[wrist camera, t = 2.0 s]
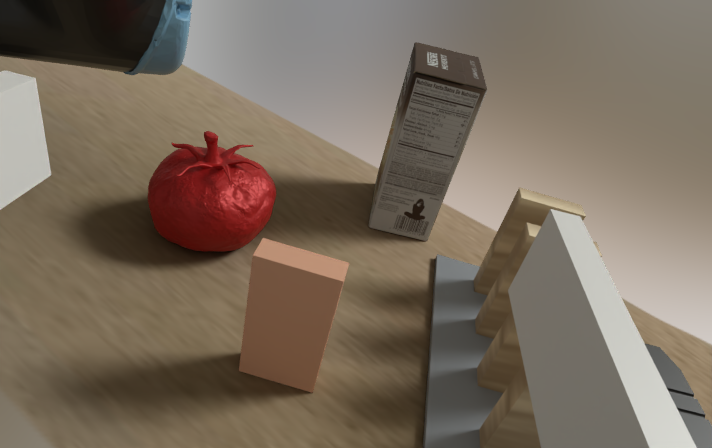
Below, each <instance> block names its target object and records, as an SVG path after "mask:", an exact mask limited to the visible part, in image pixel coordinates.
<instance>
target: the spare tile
mask: <svg viewBox="0 0 712 448" xmlns="http://www.w3.org/2000/svg"><path fill="white" fill-rule="evenodd" d="M348 266H349V263H348V262H344V261H341V260H337V259H334V258H330V257H327V256H324V255H320V254H317V253H313V252H310V251H306V250H303V249H299V248H296V247H293V246H289V245H286V244H282V243H279V242H275V241H272V240H269V239H265V238H263V239H262V241H261V242H260V244H259V246H258V247H257V249H256V251H255V253H254V254H253V259H252V267H251V275H250V283H249V292H248V300H247V308H246V316H245V324H244V332H243V341H242V349H241V357H240V365H239V371H240V372H244V373H247V374H251V375H254V376H257V377H261V378H264V379H267V380H271V381H274V382H277V383H281V384H284V385H287V386H291V387H294V388H298V389H301V390H304V391H308V392H311V393H313V390H314V387H315V383H316V380H317V377H318V373H319V370H320V366H321V362H322V359H323V355H324V352H325V348H326V345H327V341H328V337H329V334H330V330H331V327H332V323H333V320H334V316H335V312H336V309H337V305H338V302H339V298H340V295H341V291H342V287H343V284H344V280H345V277H346V273H347V270H348Z"/></svg>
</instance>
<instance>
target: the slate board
mask: <svg viewBox="0 0 712 448" xmlns="http://www.w3.org/2000/svg"><path fill="white" fill-rule="evenodd" d="M479 268H480V267H479V266H476V265H472V264H469V263H465V262H462V261H458V260H455V259H451V258H448V257H445V256H441V255H438V254H437V256H436V260H435V275H434V290H433V305H432V320H431V334H430V349H429V364H428V379H427V394H426V409H425V424H424V439H423V448H480V432H479V429H480V427H481V426H482V424H483V423H484V421H485V420H486V418H487V417H488V415H489V414H490V412H491V411H492V409H493V408H494V406H495V405H496V404H497V402H498V401H499V399H500V398H501V396H502V395H503V393H501V392H497V391H494V390H491V389H487V388H484V387H480V386H478V379H477V367H478V365H479V364H480V362H481V360H482V358H483V357H484V355H485V353H486V352H487V350H488V348H489V346H490V345H491V343H492V341H493V340H494V339H493V338H489V337H486V336H482V335H479V334H476V326H475V319H476V317H477V315H478V313H479V311H480V309H481V307H482V306H483V304H484V302H485V300H486V298H487V296H488V295H484V294H481V293H477V292H474V278H475V276H476V274H477V272H478V270H479Z"/></svg>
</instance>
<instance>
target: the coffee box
mask: <svg viewBox="0 0 712 448" xmlns="http://www.w3.org/2000/svg"><path fill="white" fill-rule="evenodd" d="M486 92H487V87H486V84H485V80H484V76H483V73H482V69H481V65H480V62H479V59H478V57H475V56H470V55H466V54H462V53H457V52H453V51H450V50H446V49H442V48H438V47H433V46H430V45H425V44H421V43H415V44H414V47H413V51H412V54H411V58H410V62H409V65H408V69H407V72H406V76H405V79H404V83H403V86H402V90H401V93H400V97H399V100H398V103H397V107H396V111H395V114H394V118H393V121H392V125H391V129H390V132H389V136H388V139H387V143H386V146H385V150H384V153H383V157H382V161H381V164H380V168H379V171H378V175H377V179H376V184H375V190H374V196H373V202H372V207H371V213H370V219H369V225H368V226H369V227H370V228H373V229H377V230H381V231H385V232H390V233H394V234H398V235H403V236H407V237H411V238H415V239H419V240H423V241H427V240H428V237H429V235H430V232H431V230H432V227H433V225H434V222H435V220H436V217H437V215H438V212H439V209H440V207H441V204H442V202H443V199H444V196H445V194H446V192H447V189H448V187H449V184H450V182H451V179H452V177H453V174H454V172H455V169H456V167H457V164H458V162H459V160H460V157H461V154H462V152H463V150H464V147H465V145H466V142H467V140H468V137H469V134H470V132H471V129H472V127H473V124H474V122H475V120H476V117H477V114H478V112H479V109H480V107H481V104H482V102H483V99H484V97H485V95H486Z"/></svg>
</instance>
